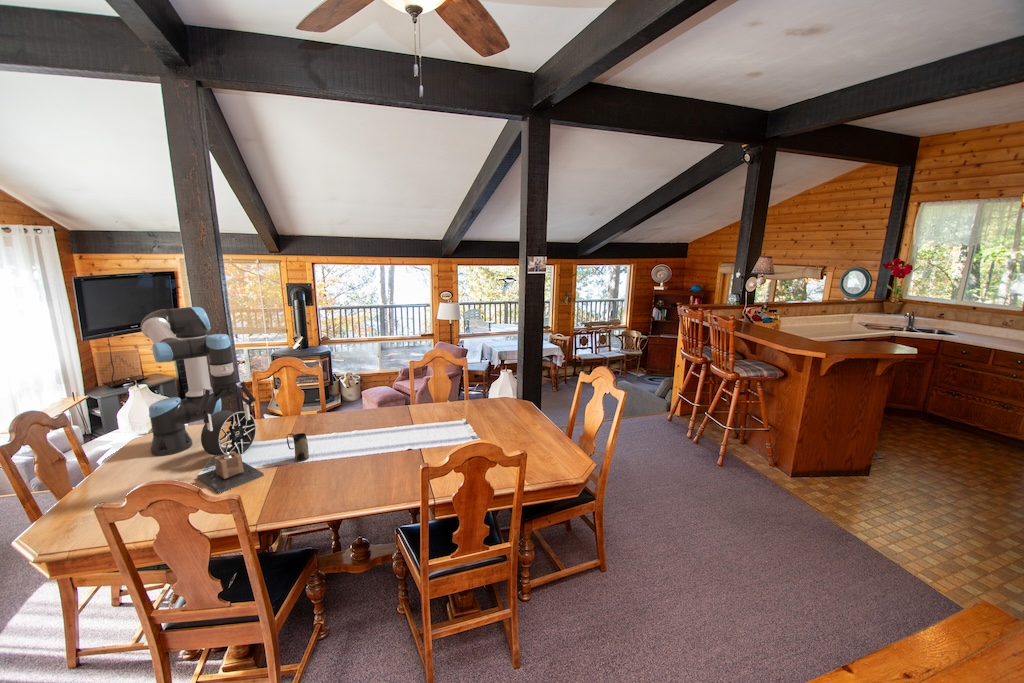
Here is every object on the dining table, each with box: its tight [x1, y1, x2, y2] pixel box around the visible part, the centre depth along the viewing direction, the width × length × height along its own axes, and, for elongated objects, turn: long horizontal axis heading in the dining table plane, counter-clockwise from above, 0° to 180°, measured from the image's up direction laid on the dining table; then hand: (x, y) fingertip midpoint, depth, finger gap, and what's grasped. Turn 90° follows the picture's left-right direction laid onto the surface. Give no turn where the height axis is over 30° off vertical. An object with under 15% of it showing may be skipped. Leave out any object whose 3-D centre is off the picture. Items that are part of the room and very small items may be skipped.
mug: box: [286, 432, 310, 463], centre depth 184 cm, size 8×6×12 cm
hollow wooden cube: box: [213, 451, 244, 479], centre depth 169 cm, size 7×7×7 cm
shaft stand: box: [196, 452, 265, 494], centre depth 169 cm, size 20×16×11 cm
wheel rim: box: [200, 410, 257, 456], centre depth 189 cm, size 20×9×20 cm, turn 168°
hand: (229, 424), depth 170 cm, fingers open, 13 cm apart
